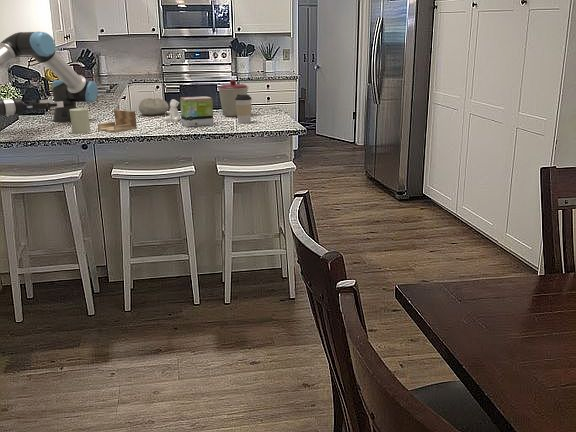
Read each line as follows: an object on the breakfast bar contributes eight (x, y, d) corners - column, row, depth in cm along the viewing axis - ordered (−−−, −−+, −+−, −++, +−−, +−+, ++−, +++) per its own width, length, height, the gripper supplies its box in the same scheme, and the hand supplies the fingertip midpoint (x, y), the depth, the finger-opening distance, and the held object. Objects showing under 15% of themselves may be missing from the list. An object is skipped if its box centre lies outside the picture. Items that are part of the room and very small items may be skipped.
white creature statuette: (162, 121, 333) (160, 100, 330) (171, 119, 341) (169, 98, 337) (176, 122, 329) (174, 100, 326) (185, 120, 337) (183, 98, 333)
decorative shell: (153, 112, 371) (152, 96, 368) (175, 113, 363) (174, 97, 360) (133, 116, 357) (131, 99, 354) (155, 117, 348) (154, 100, 345)
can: (85, 133, 299) (82, 109, 296) (68, 133, 301) (65, 109, 298) (94, 130, 308) (91, 107, 304) (78, 130, 310) (75, 107, 306)
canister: (213, 117, 346) (211, 80, 339) (227, 113, 362) (226, 77, 355) (241, 118, 339) (239, 80, 333) (254, 114, 355) (253, 78, 348)
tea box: (187, 127, 312) (185, 99, 308) (181, 124, 321) (179, 97, 316) (214, 125, 319) (212, 97, 314) (207, 122, 328) (206, 95, 323)
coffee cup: (255, 121, 328) (254, 93, 324) (248, 123, 320) (247, 95, 315) (240, 120, 331) (238, 93, 326) (233, 123, 323) (232, 95, 318)
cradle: (97, 130, 308) (95, 112, 305) (119, 126, 319) (117, 109, 316) (115, 132, 300) (113, 114, 298) (136, 128, 311) (135, 111, 309)
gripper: (6, 112, 291) (49, 108, 304) (22, 117, 272) (68, 112, 286) (3, 96, 288) (48, 93, 302) (20, 100, 270) (66, 97, 283)
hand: (58, 103), depth 294 cm, fingers open, 13 cm apart
